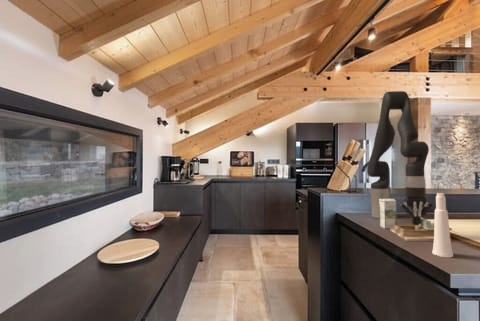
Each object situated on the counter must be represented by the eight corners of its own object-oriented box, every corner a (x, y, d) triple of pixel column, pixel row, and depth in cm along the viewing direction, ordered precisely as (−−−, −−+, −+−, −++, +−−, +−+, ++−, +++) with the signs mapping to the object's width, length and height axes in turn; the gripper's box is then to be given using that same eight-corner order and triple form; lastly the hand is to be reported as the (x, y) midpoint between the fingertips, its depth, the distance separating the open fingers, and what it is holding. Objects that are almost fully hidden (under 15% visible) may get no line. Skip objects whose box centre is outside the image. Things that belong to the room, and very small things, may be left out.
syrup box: (391, 226, 135) (390, 198, 135) (397, 229, 129) (396, 199, 129) (379, 226, 135) (378, 198, 135) (385, 229, 129) (384, 200, 129)
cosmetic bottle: (442, 251, 97) (439, 192, 97) (458, 256, 91) (455, 194, 91) (427, 252, 96) (425, 192, 96) (443, 258, 90) (441, 194, 90)
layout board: (390, 230, 127) (389, 223, 127) (428, 230, 124) (428, 223, 124) (406, 240, 110) (406, 232, 110) (451, 241, 108) (451, 233, 108)
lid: (416, 224, 121) (415, 216, 121) (438, 224, 120) (438, 217, 120) (427, 230, 112) (427, 221, 112) (452, 230, 111) (451, 221, 111)
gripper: (426, 185, 120) (427, 222, 120) (395, 185, 122) (396, 222, 122) (436, 186, 112) (437, 226, 112) (403, 187, 115) (404, 226, 115)
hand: (416, 224), depth 117 cm, fingers closed
